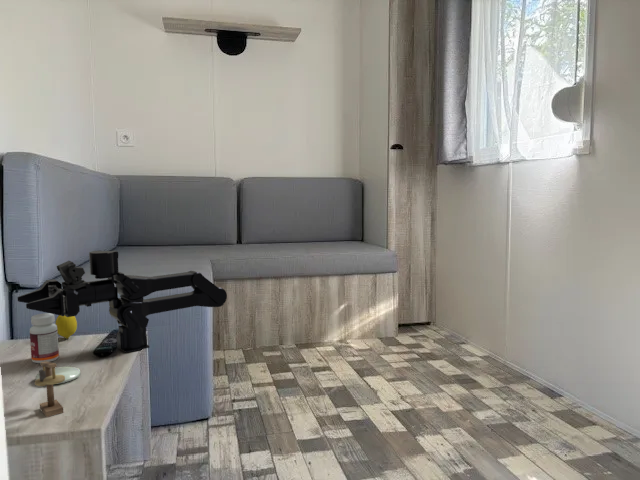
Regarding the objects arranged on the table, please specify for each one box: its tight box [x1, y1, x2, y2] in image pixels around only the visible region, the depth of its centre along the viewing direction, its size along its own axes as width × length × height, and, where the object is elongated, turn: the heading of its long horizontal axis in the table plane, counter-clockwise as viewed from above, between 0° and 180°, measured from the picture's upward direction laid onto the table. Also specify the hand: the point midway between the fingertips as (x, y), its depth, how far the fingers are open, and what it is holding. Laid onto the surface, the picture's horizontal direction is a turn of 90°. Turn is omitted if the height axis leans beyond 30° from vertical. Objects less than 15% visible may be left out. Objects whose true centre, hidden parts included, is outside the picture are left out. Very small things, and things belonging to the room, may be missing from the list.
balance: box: [34, 361, 65, 418], centre depth 101 cm, size 11×4×10 cm, turn 41°
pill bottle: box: [29, 312, 60, 364], centre depth 130 cm, size 6×6×11 cm
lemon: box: [54, 312, 78, 340], centre depth 147 cm, size 6×6×8 cm
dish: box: [35, 366, 81, 385], centre depth 117 cm, size 9×9×1 cm
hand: (21, 302), depth 120 cm, fingers open, 9 cm apart
